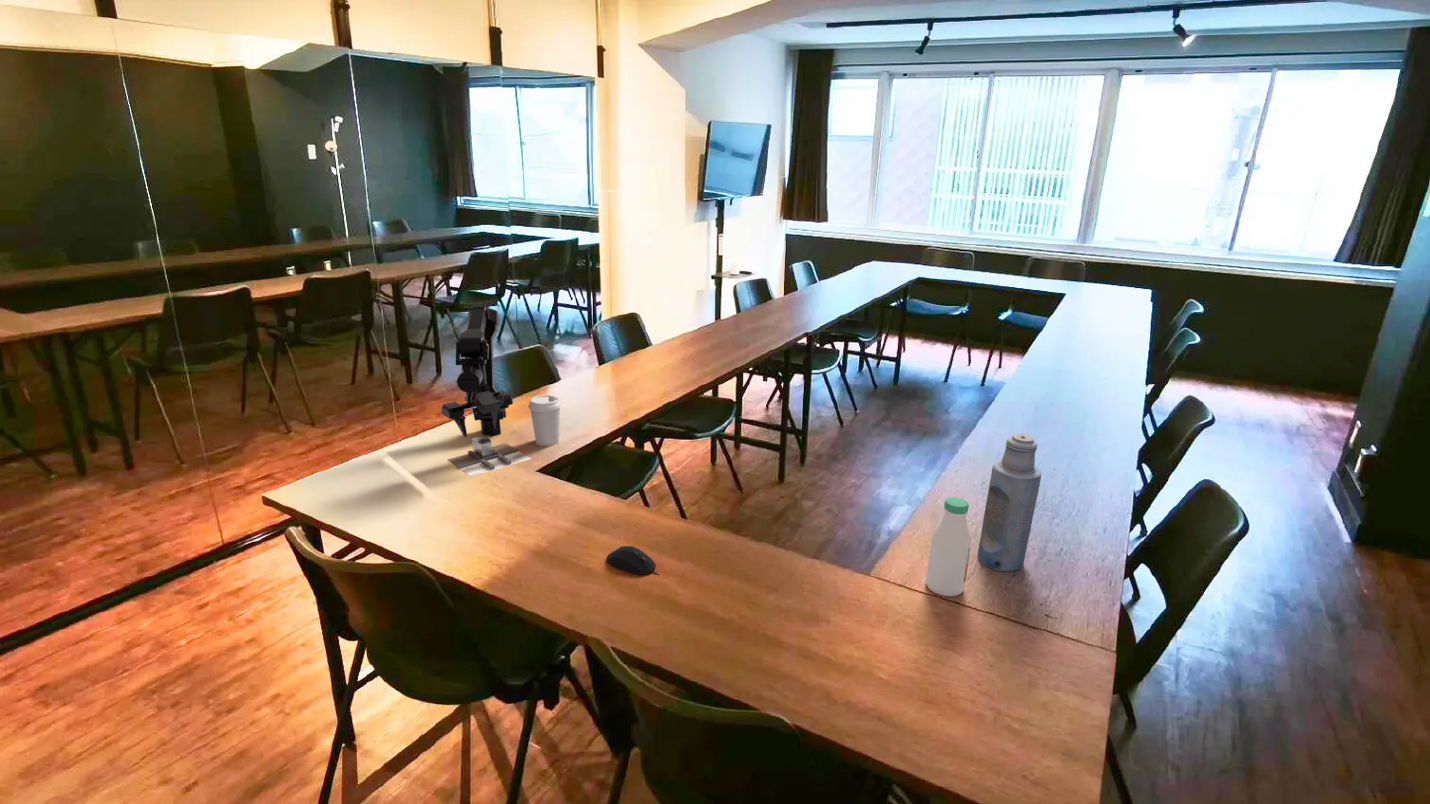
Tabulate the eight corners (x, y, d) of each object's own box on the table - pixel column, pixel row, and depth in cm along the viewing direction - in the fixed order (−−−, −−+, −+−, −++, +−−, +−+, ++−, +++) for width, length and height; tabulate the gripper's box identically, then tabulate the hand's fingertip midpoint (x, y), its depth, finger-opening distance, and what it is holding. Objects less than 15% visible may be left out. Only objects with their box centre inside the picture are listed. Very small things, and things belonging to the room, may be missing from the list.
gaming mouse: (655, 586, 149) (654, 569, 147) (600, 563, 156) (600, 548, 155) (672, 571, 154) (672, 555, 152) (619, 551, 161) (618, 535, 160)
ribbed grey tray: (447, 464, 201) (446, 456, 201) (506, 447, 213) (505, 439, 212) (472, 482, 191) (471, 473, 190) (531, 463, 203) (531, 455, 202)
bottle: (967, 554, 161) (987, 431, 151) (1001, 545, 165) (1022, 425, 155) (999, 576, 153) (1021, 448, 143) (1033, 567, 157) (1057, 441, 147)
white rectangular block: (473, 453, 206) (471, 436, 204) (482, 450, 207) (481, 434, 206) (482, 459, 201) (481, 442, 200) (492, 456, 203) (491, 440, 202)
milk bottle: (958, 602, 144) (972, 514, 137) (920, 589, 148) (932, 504, 141) (967, 583, 150) (981, 499, 144) (931, 572, 154) (942, 489, 147)
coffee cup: (556, 453, 210) (553, 405, 205) (525, 450, 211) (522, 403, 206) (568, 441, 219) (566, 395, 213) (539, 438, 220) (536, 392, 215)
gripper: (455, 395, 185) (462, 450, 191) (520, 380, 198) (524, 432, 203) (437, 385, 193) (444, 438, 198) (501, 371, 205) (505, 421, 210)
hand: (480, 432), depth 202 cm, fingers open, 9 cm apart
